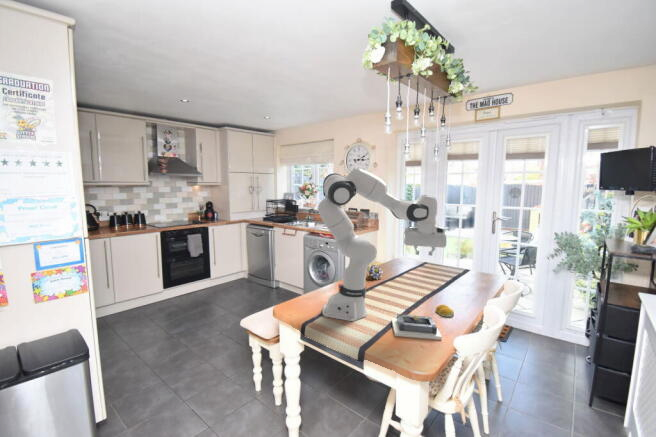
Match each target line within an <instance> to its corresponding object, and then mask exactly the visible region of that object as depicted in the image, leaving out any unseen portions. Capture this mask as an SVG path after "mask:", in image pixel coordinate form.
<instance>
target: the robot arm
mask: <svg viewBox="0 0 656 437" xmlns="http://www.w3.org/2000/svg"><path fill="white" fill-rule="evenodd" d="M322 188H323V189H322V190H323V191H322V192H323V196H324V199H323V200H321V201H320V202H319V203H318V206H317V212H318V214H319V217H320V218H321V220H322V222H323V224H324V225H325V226H326V228H327V229H328V230H329V232H330V234H331V235H332V237H333V238H334V240H335V242H336V245H337V249H338V250H339V252H340V253H341V254H342V255H344V256H345V257H347V258H349V261H348V266H347V267H346V268H345V269H344V271H343V281H342V282H339V283H338V291H337V292H336V293H334V294H333V295H330V297H329V298H328V301H327V303H326V304H325V305H324V306H322V311H321V313H322V316H323V317H327V318H330V319H331V318H333V319H337V320H343V321H350V322H355V321H357V320H359V319H363V318H365V317H367V315H368V313H367V310H366V309H367V307H366V296H367V288H366V287H367V286H366V279H367V278H366V277H367V272H368V270H367V269H368V267H370V264H372V263H374V261H375V260H376V258H377V254H378V253H377V248H376V247H375V245H373V243H371V242H370V241H368V240H365V239H364V238H360V237H359V236H358V235H357V234H356V232H355V225H354V223H353V222H352V220H351V218H350V217H349V216H348V214H347V213H346V211H345V209H344V208H343V206H344V205H347V204H348V203H349V202H350V201H351V200H352V198H354V197H355V196H356V195H359V196H361V197H363V198H364V199H366V200H368V201H371V202H374V203H379V204H380V205H382V206H384V207H385V208H387V209H388V210H389V211H390V212H391V213H392V215H393V216H394V217H395V219H399V220H404V221H407V222H412V223H416V226H412V227H411V226H407V227H406V228H404V239H403V243H404V245H405V246H412V247H413V248H414V251H415V255H418V256H420V251H419V250H418V247H428V248H431V250H430V251H428V256H433V253H434V251H435V250H436V248H444V249H445V248H446V247H447V235H446V234H445V233H446V229H445V228H444V227H442V226H439V225H438V224H437V220H436V218H437V214H438V201H437V198H436V196H432V195H428V194H421V195H420V196H419V197H418V198H416V199H414V200H412V201H410V200H406V199H398V198H396V197H395V196H393V195H391V194H390V193H388V186H387V184H386V182H385V181H383V180H382V178H380V177H378V176H376V175H375V174H373V173H372V172H370V171H367V170H364V169H362V168H359V167H357V168H353V169H352V170H351V171H349V173H348V174H347V175H346V176H344V177H343V176H342V175H341V174H340V173H337V172H336V173H329V174H327V175H326V176H325V177H324V180H323V183H322Z"/></svg>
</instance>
